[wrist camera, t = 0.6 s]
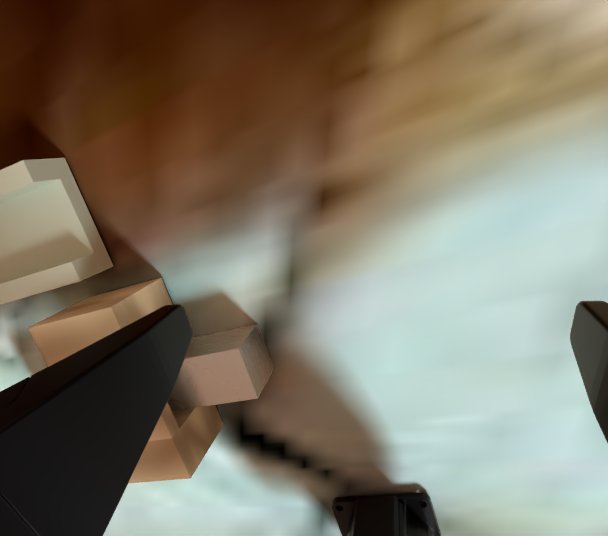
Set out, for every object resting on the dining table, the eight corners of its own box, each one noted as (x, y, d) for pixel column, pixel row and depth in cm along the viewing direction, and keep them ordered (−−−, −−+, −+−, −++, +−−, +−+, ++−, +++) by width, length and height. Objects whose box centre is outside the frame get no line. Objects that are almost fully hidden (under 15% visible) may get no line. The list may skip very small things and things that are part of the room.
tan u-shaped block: (223, 424, 27) (190, 478, 23) (152, 433, 29) (110, 484, 25) (161, 277, 25) (111, 306, 20) (87, 297, 26) (27, 328, 22)
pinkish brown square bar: (258, 323, 24) (238, 348, 21) (274, 367, 25) (258, 398, 22) (47, 367, 30) (8, 393, 27) (65, 403, 31) (29, 431, 28)
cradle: (113, 266, 25) (80, 281, 23) (4, 298, 28) (-36, 315, 26) (64, 157, 23) (22, 160, 21) (-46, 204, 27) (-94, 211, 24)
